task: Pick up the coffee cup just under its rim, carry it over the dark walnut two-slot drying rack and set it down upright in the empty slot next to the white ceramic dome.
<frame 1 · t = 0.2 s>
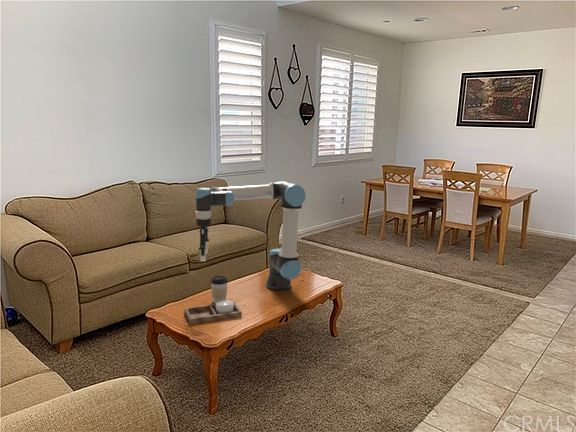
hand: (204, 257, 232), 27 cm above the table, fingers open, 13 cm apart
rack: (213, 316, 224), on the table
white ceramic dome: (224, 312, 226), point 1 cm above the table, touching rack
coffee cup: (219, 303, 240), on the table
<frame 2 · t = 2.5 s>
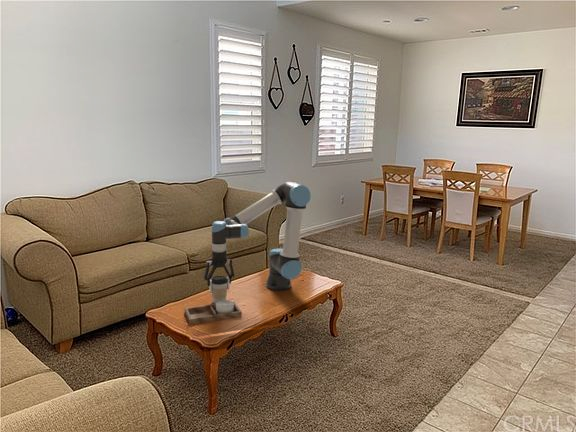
hand: (219, 290, 239), 7 cm above the table, fingers closed on coffee cup, 9 cm apart
coffee cup: (219, 303, 240), on the table, touching gripper
everything else where it was.
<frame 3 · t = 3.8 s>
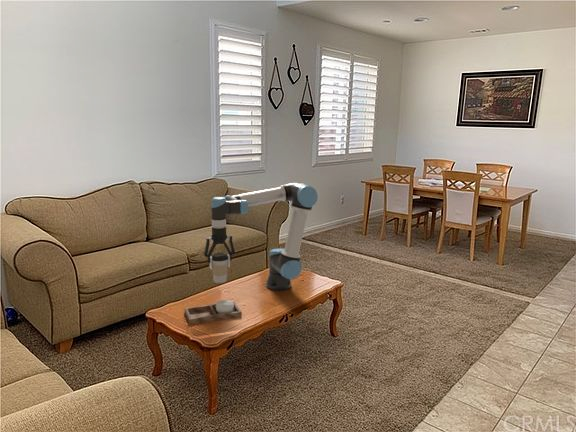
hand: (219, 267, 236), 20 cm above the table, fingers closed on coffee cup, 9 cm apart
coffee cup: (220, 281, 238), point 13 cm above the table, touching gripper
everything else where it was.
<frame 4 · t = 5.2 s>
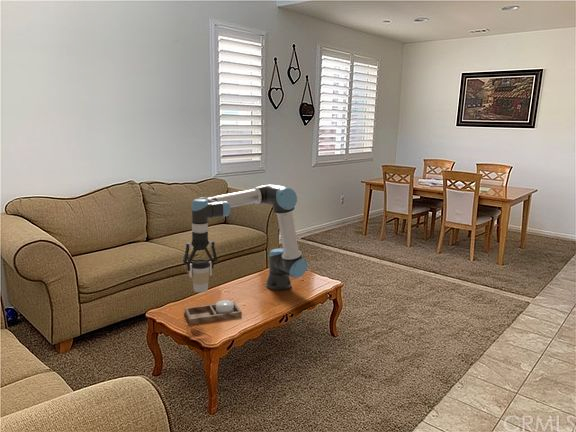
hand: (200, 275, 217), 22 cm above the table, fingers closed on coffee cup, 9 cm apart
coffee cup: (200, 290, 219), point 15 cm above the table, touching gripper
everything else where it was.
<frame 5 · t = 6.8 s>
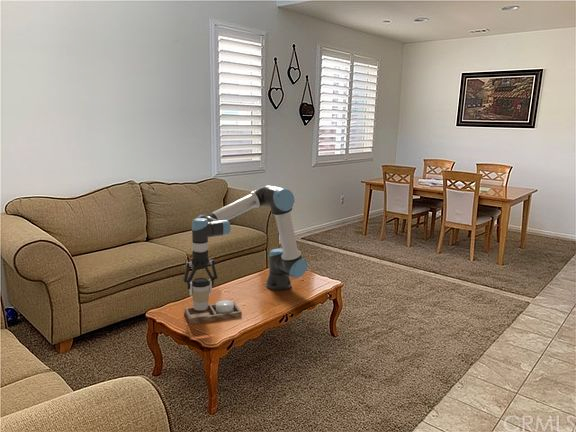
hand: (200, 293, 219), 13 cm above the table, fingers closed on coffee cup, 9 cm apart
coffee cup: (200, 308, 221), point 5 cm above the table, touching gripper
everything else where it was.
when the fingers open (10 cm above the table, at t = 8.0 s): coffee cup drops 1 cm, resting on rack.
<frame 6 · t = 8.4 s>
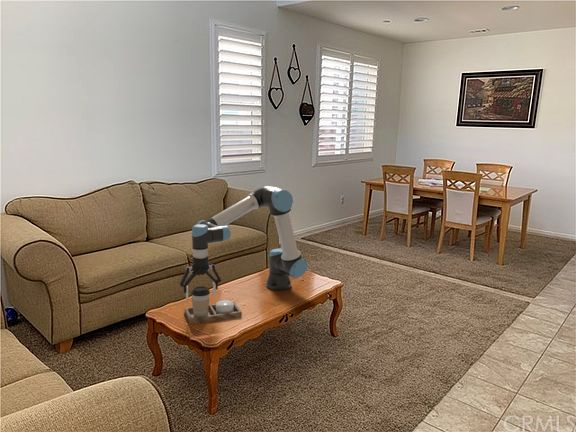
hand: (200, 297, 219), 11 cm above the table, fingers open, 13 cm apart
coffee cup: (200, 316, 222), point 1 cm above the table, touching rack
everything else where it was.
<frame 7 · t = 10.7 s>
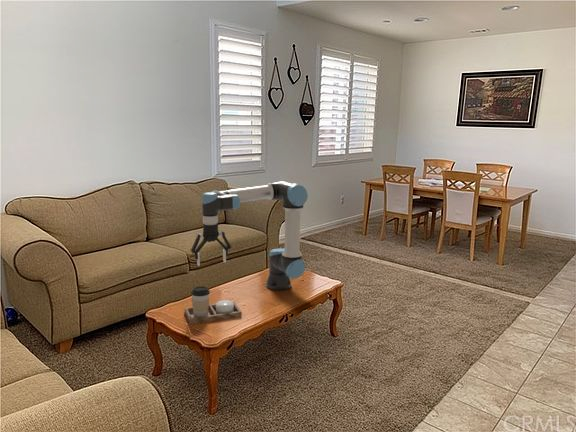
hand: (211, 263, 226), 26 cm above the table, fingers open, 13 cm apart
nothing on the table moved.
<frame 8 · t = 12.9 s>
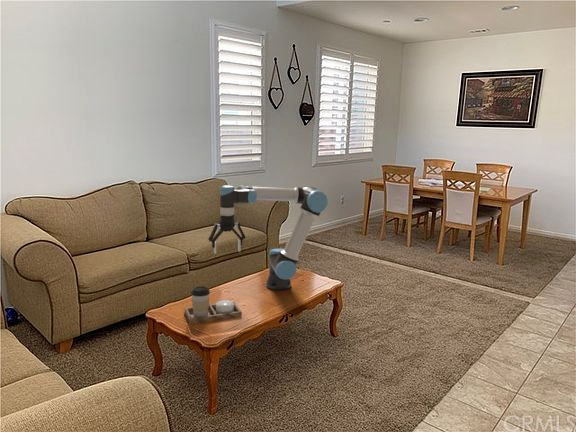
hand: (227, 252, 242), 27 cm above the table, fingers open, 13 cm apart
nothing on the table moved.
at the end: coffee cup inside the target area on the rack (0.0 cm from its centre), point 0.8 cm above the rack's base; coffee cup tilted 0°; the gripper is holding nothing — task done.
